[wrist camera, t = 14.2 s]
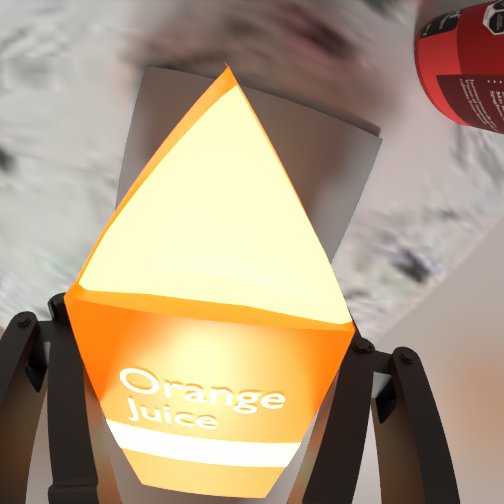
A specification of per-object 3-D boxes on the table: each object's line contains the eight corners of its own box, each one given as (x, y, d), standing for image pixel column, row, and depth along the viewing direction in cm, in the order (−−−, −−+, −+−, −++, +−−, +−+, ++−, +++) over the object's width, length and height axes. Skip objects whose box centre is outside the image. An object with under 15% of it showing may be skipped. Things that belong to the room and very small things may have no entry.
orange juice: (140, 484, 13) (41, 71, 4) (163, 383, 21) (158, 89, 12) (267, 498, 13) (428, 105, 4) (264, 395, 21) (325, 106, 12)
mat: (378, 138, 16) (382, 139, 15) (267, 378, 25) (268, 383, 24) (149, 67, 14) (146, 65, 13) (110, 342, 22) (108, 346, 22)
